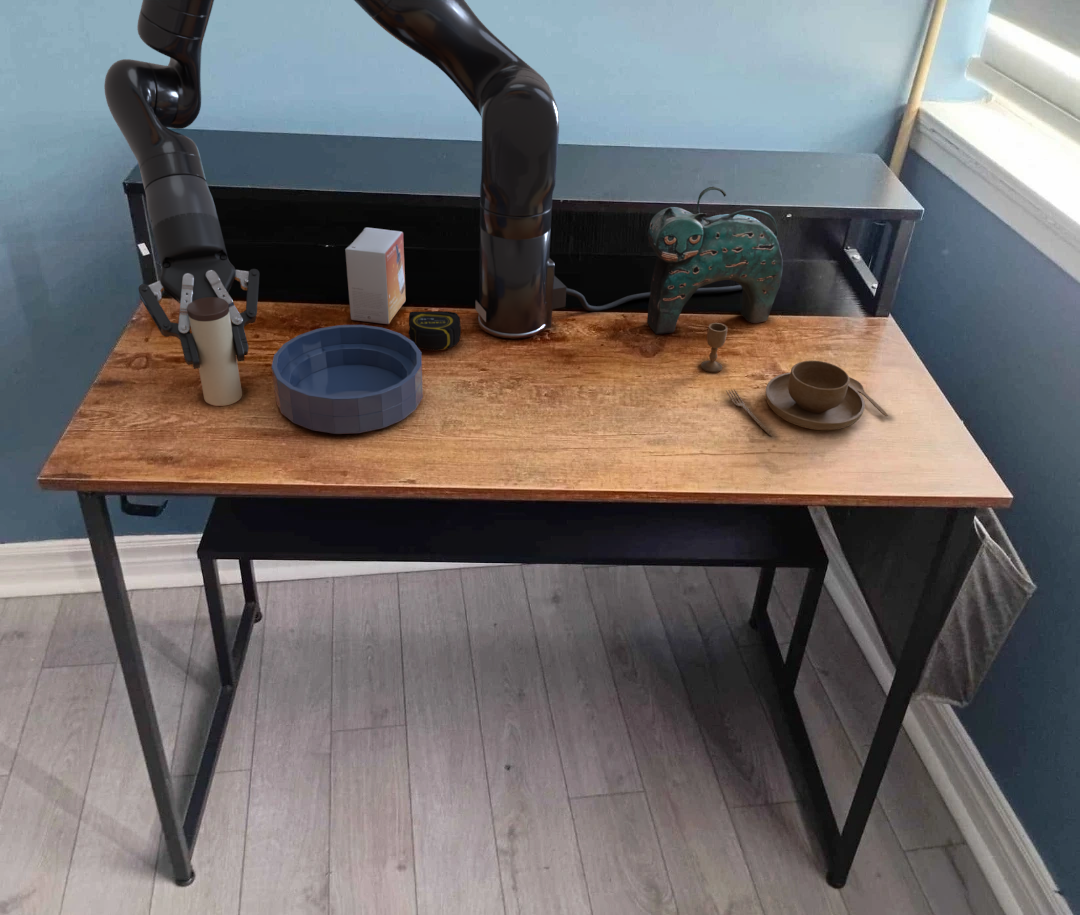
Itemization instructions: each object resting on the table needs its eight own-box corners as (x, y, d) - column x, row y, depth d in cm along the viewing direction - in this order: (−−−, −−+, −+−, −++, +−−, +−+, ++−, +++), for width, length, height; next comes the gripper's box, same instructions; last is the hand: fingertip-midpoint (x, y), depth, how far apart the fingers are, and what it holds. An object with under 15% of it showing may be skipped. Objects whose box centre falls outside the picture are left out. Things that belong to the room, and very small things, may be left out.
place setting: (776, 447, 113) (786, 404, 110) (693, 364, 128) (699, 324, 125) (899, 421, 119) (911, 380, 116) (805, 344, 134) (814, 306, 131)
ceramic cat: (646, 340, 133) (664, 197, 122) (630, 318, 138) (645, 179, 127) (778, 326, 138) (806, 188, 127) (757, 305, 143) (783, 171, 132)
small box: (388, 326, 133) (385, 253, 127) (349, 320, 134) (344, 248, 128) (407, 300, 140) (404, 230, 134) (369, 295, 140) (365, 225, 134)
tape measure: (460, 331, 133) (460, 306, 131) (460, 356, 127) (460, 331, 125) (409, 331, 132) (408, 306, 130) (407, 356, 127) (406, 331, 125)
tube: (238, 383, 120) (224, 294, 113) (246, 401, 116) (231, 311, 109) (200, 390, 118) (183, 300, 111) (207, 409, 115) (190, 317, 108)
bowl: (397, 353, 127) (395, 315, 124) (442, 421, 115) (442, 381, 112) (263, 377, 121) (258, 338, 118) (296, 452, 109) (291, 410, 105)
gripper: (118, 218, 108) (153, 365, 106) (249, 203, 113) (284, 342, 112) (122, 245, 115) (155, 383, 113) (245, 229, 120) (279, 361, 119)
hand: (219, 362), depth 113 cm, fingers closed on tube, 4 cm apart
